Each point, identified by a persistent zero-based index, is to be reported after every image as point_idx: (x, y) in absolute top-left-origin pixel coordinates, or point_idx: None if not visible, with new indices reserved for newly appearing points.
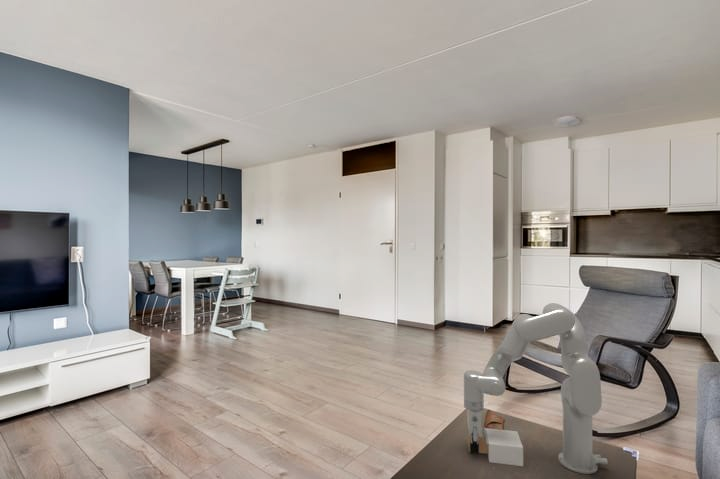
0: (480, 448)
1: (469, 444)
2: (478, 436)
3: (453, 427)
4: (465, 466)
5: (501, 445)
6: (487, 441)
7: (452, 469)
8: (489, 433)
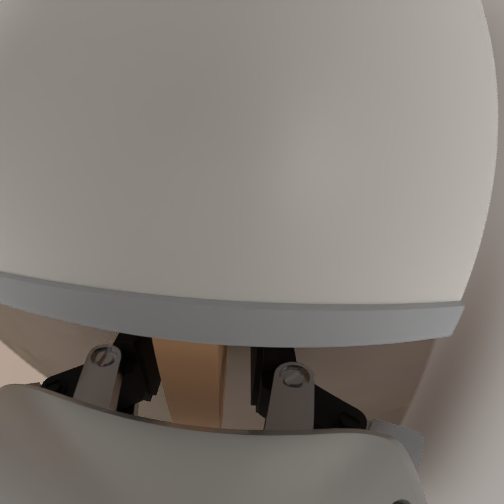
0: None
1: (225, 383)
2: (166, 374)
3: (15, 351)
4: (389, 359)
5: (495, 98)
6: (419, 325)
7: (397, 398)
8: (62, 231)
